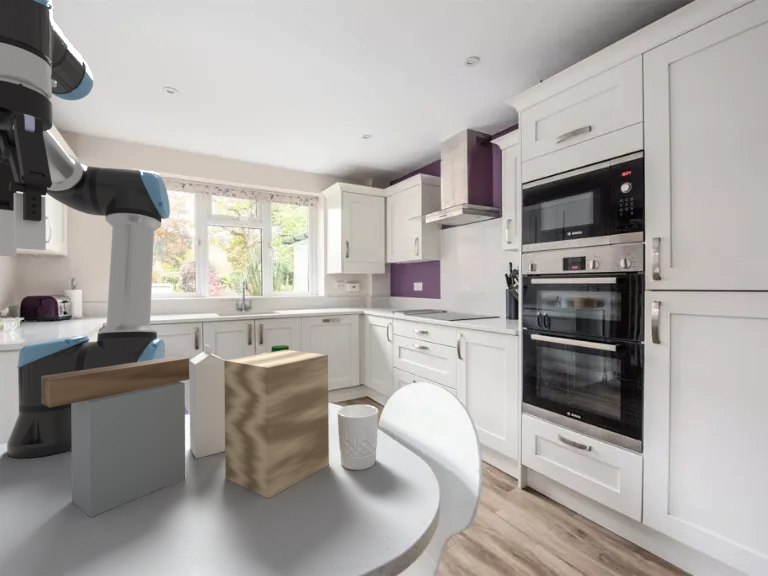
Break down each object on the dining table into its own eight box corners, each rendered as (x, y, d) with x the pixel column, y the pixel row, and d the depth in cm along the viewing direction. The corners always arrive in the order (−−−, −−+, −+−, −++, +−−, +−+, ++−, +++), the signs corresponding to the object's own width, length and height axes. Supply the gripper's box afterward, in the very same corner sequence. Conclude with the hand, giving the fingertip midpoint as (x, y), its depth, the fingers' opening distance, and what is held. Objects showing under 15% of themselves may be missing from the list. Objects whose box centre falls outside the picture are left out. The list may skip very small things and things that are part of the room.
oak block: (225, 478, 67) (224, 360, 67) (286, 450, 79) (285, 349, 79) (268, 498, 60) (267, 367, 60) (328, 464, 72) (327, 354, 72)
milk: (195, 459, 75) (193, 348, 75) (190, 448, 80) (188, 345, 80) (227, 450, 79) (226, 345, 79) (220, 441, 84) (218, 342, 84)
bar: (41, 403, 56) (41, 376, 56) (178, 376, 72) (178, 356, 72) (49, 407, 54) (49, 379, 54) (189, 379, 70) (189, 358, 70)
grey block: (71, 500, 60) (71, 394, 60) (163, 466, 72) (162, 377, 72) (90, 517, 56) (90, 402, 56) (185, 478, 67) (184, 383, 67)
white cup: (345, 475, 68) (344, 419, 68) (333, 457, 75) (332, 407, 75) (385, 466, 71) (384, 413, 71) (369, 450, 78) (369, 402, 78)
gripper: (84, 73, 46) (85, 248, 45) (26, 126, 60) (27, 259, 60) (-4, 39, 39) (-3, 242, 39) (-45, 107, 54) (-45, 256, 53)
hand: (15, 252), depth 49 cm, fingers open, 13 cm apart
